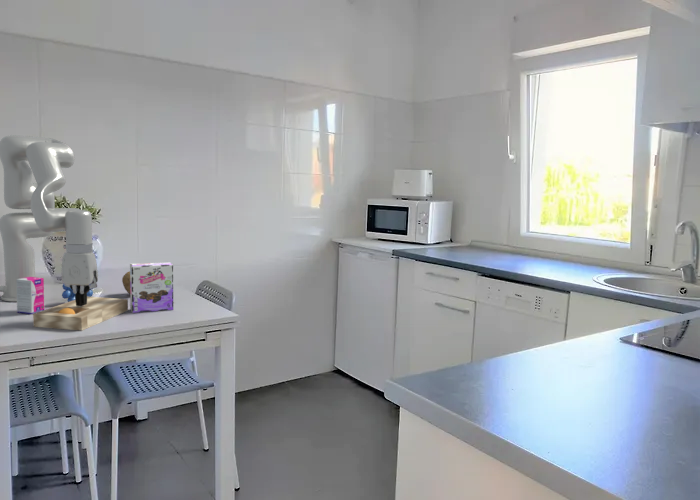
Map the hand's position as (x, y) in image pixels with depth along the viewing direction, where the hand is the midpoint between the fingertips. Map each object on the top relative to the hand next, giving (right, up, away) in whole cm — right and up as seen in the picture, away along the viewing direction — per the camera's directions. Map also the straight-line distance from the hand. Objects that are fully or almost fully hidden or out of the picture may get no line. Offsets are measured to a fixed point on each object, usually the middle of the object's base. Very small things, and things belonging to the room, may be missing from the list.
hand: (81, 305), depth 170 cm
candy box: (+17, -3, +15) cm, 23 cm away
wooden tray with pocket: (0, -4, +2) cm, 5 cm away
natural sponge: (+3, 0, +36) cm, 36 cm away
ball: (-2, -3, -5) cm, 6 cm away
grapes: (-11, -2, +21) cm, 24 cm away
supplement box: (-20, -3, +7) cm, 22 cm away
